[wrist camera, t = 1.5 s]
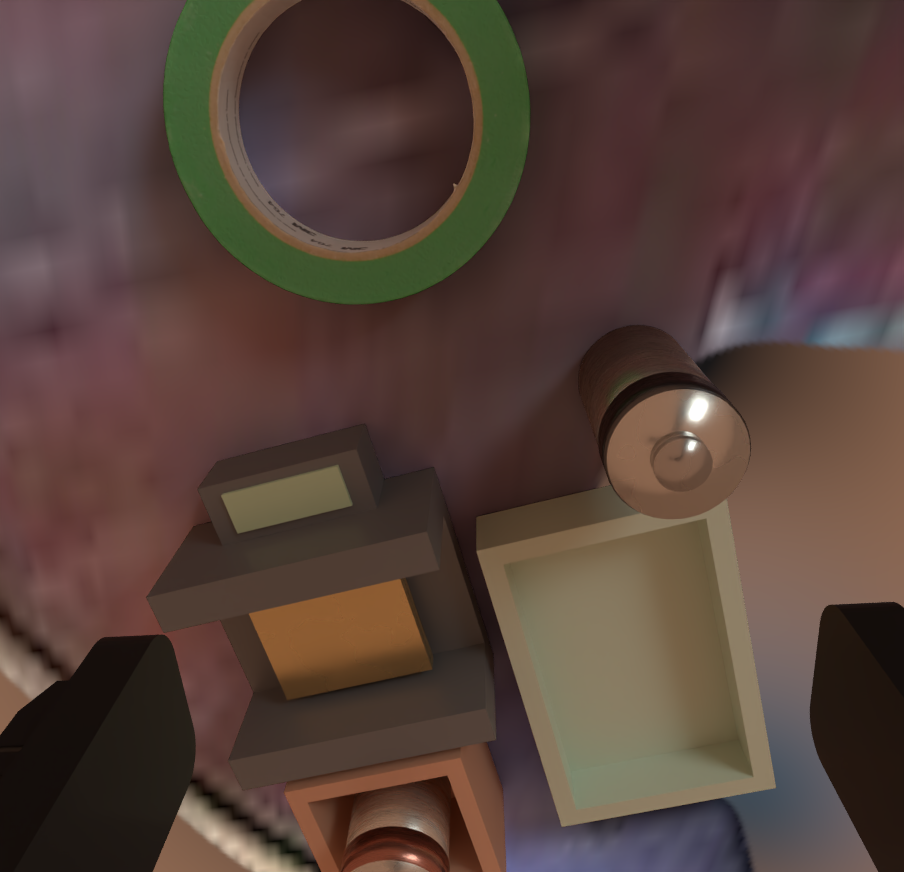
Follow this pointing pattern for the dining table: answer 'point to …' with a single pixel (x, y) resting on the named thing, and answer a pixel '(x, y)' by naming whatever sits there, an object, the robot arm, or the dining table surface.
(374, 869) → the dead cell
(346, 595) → the pad
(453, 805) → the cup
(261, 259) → the tape roll
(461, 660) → the cradle
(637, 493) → the cell
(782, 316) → the dining table surface
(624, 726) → the trough
